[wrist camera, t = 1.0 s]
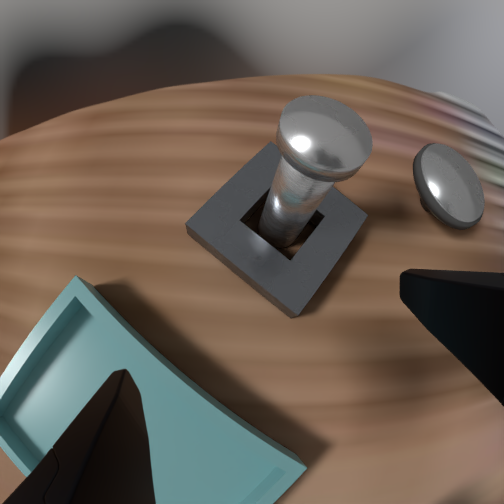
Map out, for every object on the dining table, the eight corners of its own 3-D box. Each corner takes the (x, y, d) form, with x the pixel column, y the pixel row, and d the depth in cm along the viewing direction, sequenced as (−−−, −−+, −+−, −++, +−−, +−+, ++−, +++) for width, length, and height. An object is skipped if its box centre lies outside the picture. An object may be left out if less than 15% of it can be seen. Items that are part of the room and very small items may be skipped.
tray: (296, 454, 18) (307, 467, 16) (173, 563, 13) (169, 582, 11) (91, 284, 21) (75, 275, 18) (-2, 412, 16) (-22, 415, 13)
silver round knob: (463, 204, 28) (490, 184, 23) (443, 260, 25) (477, 243, 20) (409, 154, 28) (432, 127, 24) (381, 202, 26) (408, 175, 21)
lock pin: (315, 226, 24) (385, 133, 13) (283, 266, 23) (346, 186, 11) (273, 193, 25) (313, 84, 13) (238, 230, 23) (260, 125, 12)
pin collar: (358, 224, 25) (368, 215, 23) (290, 318, 22) (297, 315, 20) (267, 155, 26) (270, 141, 24) (187, 233, 23) (185, 223, 21)
